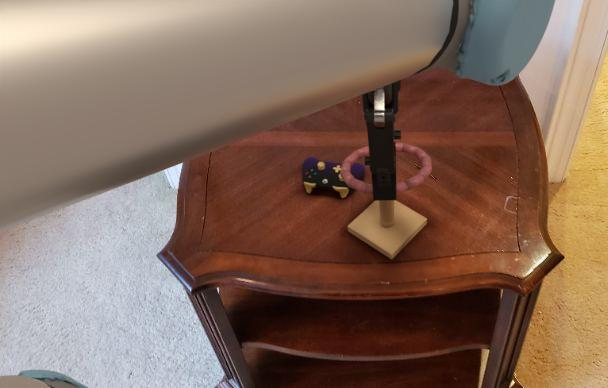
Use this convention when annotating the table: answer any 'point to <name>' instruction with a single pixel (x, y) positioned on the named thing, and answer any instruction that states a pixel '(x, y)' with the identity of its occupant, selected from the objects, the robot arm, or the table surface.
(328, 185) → the gaming controller
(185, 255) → the table surface
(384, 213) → the stand
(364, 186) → the ring
